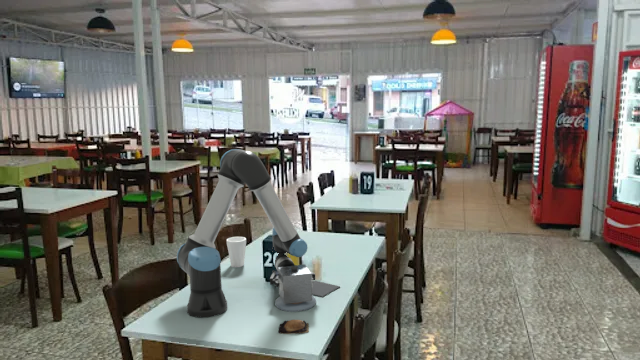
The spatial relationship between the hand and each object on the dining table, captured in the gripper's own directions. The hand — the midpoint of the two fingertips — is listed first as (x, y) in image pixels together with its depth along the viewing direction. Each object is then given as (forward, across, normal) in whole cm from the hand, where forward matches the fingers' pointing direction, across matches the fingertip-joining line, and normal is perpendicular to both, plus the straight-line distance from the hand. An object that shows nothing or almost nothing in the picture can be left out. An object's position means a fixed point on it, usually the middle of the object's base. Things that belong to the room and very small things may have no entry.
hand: (297, 285), depth 194 cm
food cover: (-4, 0, -6) cm, 7 cm away
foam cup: (-59, +17, -9) cm, 62 cm away
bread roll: (+18, +5, -9) cm, 21 cm away
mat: (-16, -12, -9) cm, 22 cm away
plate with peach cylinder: (-4, 0, -9) cm, 9 cm away
